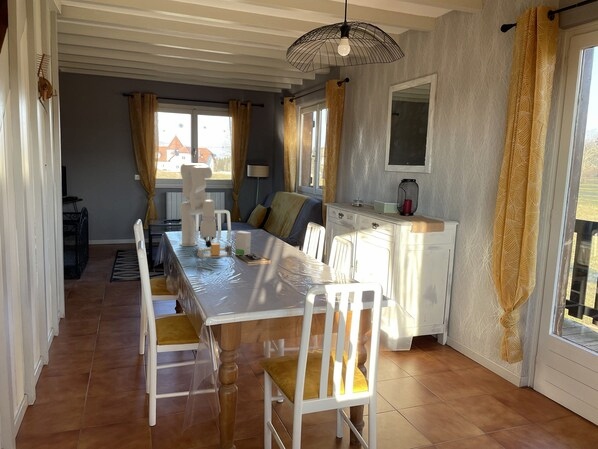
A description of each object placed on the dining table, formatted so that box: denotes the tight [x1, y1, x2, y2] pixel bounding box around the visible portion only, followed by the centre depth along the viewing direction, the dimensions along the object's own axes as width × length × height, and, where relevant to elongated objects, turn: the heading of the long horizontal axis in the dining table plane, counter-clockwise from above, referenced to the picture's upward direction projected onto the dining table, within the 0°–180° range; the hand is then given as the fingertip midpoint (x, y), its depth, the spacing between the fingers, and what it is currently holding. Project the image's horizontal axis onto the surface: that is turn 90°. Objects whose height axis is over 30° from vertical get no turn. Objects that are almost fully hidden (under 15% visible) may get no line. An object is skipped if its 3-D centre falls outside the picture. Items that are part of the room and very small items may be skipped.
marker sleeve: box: [209, 242, 221, 255], centre depth 292 cm, size 5×5×7 cm
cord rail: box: [196, 244, 234, 259], centre depth 292 cm, size 10×22×6 cm, turn 115°
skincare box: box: [234, 230, 252, 256], centre depth 296 cm, size 8×7×16 cm
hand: (208, 247), depth 290 cm, fingers closed
